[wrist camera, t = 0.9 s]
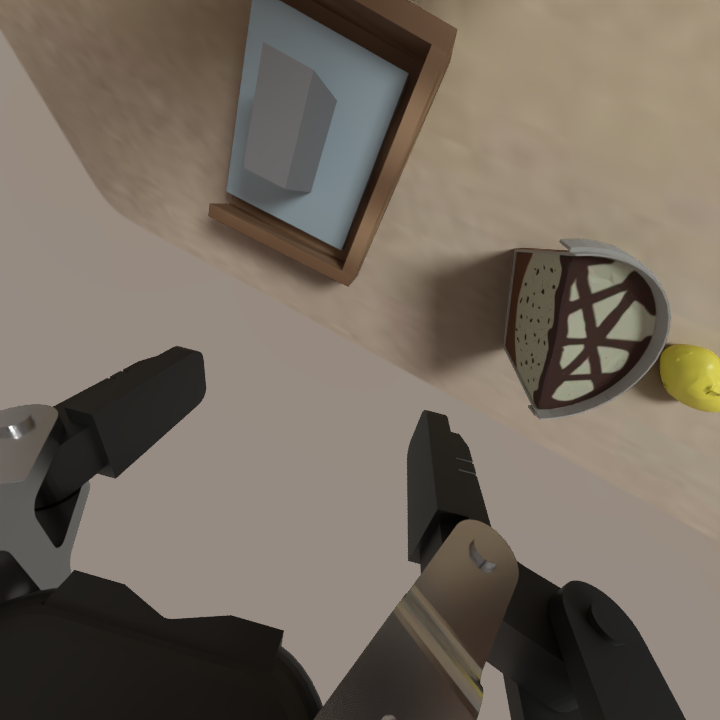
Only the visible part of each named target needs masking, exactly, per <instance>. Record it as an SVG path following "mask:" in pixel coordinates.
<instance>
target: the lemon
mask: <svg viewBox="0 0 720 720" xmlns="http://www.w3.org/2000/svg"><path fill="white" fill-rule="evenodd" d="M660 375H661V379H662V382H663V385H664V387H665V389H666V391H667V392H668V393H669V394H670V395H671V396H672V397H674V398H675V399H677V400H678V401H680V402H681V403H683V404H685V405H687V406H689V407H692V408H694V409H697V410H701V411H706V412H720V359H719V358H718V356H717V355H716V354H715V353H713V352H712V351H710V350H708V349H705V348H702V347H698V346H693V345H687V344H676V345H672V346H669V347H667V348H666V349H665V350H664V351H663V352H662V354H661V357H660Z"/></svg>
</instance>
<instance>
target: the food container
mask: <svg viewBox="0 0 720 720" xmlns="http://www.w3.org/2000/svg"><path fill="white" fill-rule="evenodd" d="M560 243H561V244H562V245H563V246H565V247H566V248H567V249H568V250H569V251H567V250H550V249H534V248H515V249H514V257H513V265H512V274H511V282H510V291H509V299H508V307H507V316H506V324H505V333H504V341H503V347H504V349H505V351H506V353H507V355H508V357H509V360H510V362H511V364H512V366H513V368H514V370H515V372H516V374H517V376H518V378H519V380H520V382H521V384H522V386H523V388H524V390H525V392H526V394H527V396H528V399H529V401H530V403H531V405H528V408H529V409H530V410H531V411H532V413H533V414H534V415H535V416H537V417H538V418H539V419H555V418H562V417H568V416H572V415H576V414H580V413H583V412H586V411H589V410H592V409H594V408H597V407H599V406H601V405H603V404H605V403H607V402H609V401H611V400H613V399H615V398H616V397H618V396H619V395H621V394H623V393H624V392H626V391H627V390H628V389H629V388H631V387H632V386H633V385H635V384H636V383H637V382H638V381H639V380H640V379H641V378H642V377H643V376H644V375H645V374H646V373H647V372H648V371H649V370H650V368H651V367H652V366H653V364H654V363H655V362H656V360H657V359H658V357H659V355H660V353H661V352H662V350H663V348H664V346H665V343H666V340H667V337H668V334H669V330H670V321H671V315H670V307H669V302H668V299H667V297H666V294H665V292H664V290H663V287H662V285H661V283H660V282H659V280H658V279H657V278H656V276H655V275H654V273H653V272H652V271H651V270H649V269H648V268H647V267H646V266H645V265H644V264H642V263H641V262H640V261H638V260H637V259H636V258H634V257H633V256H631V255H630V254H629V253H627V252H625V251H623V250H621V249H619V248H617V247H615V246H613V245H610V244H606V243H603V242H599V241H596V240H586V239H560Z"/></svg>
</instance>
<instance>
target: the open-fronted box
mask: <svg viewBox="0 0 720 720" xmlns="http://www.w3.org/2000/svg"><path fill="white" fill-rule="evenodd" d="M280 1H282V2H283V3H285V4H287V5H289V6H290V7H292V8H294V9H296V10H298V11H299V12H301V13H303V14H305V15H306V16H308V17H310V18H312V19H313V20H315V21H317V22H319V23H321V24H322V25H324V26H326V27H328V28H329V29H331V30H333V31H335V32H336V33H338V34H340V35H342V36H343V37H345V38H347V39H349V40H351V41H352V42H354V43H356V44H358V45H359V46H361V47H363V48H365V49H366V50H368V51H370V52H372V53H374V54H375V55H377V56H379V57H381V58H382V59H384V60H386V61H388V62H389V63H391V64H393V65H395V66H396V67H398V68H400V69H402V70H404V71H405V72H407V73H409V81H408V84H407V86H406V89H405V91H404V94H403V97H402V99H401V102H400V104H399V107H398V110H397V112H396V115H395V117H394V120H393V123H392V125H391V128H390V130H389V133H388V136H387V138H386V141H385V143H384V146H383V149H382V151H381V154H380V157H379V159H378V162H377V164H376V167H375V170H374V172H373V175H372V177H371V180H370V183H369V185H368V188H367V190H366V193H365V196H364V198H363V201H362V203H361V206H360V209H359V211H358V214H357V216H356V219H355V222H354V224H353V227H352V229H351V232H350V235H349V237H348V240H347V242H346V245H345V248H344V249H343V250H339V249H338V248H336V247H334V246H332V245H330V244H328V243H326V242H324V241H322V240H320V239H318V238H316V237H314V236H312V235H310V234H308V233H306V232H304V231H302V230H301V229H299V228H297V227H295V226H293V225H291V224H289V223H287V222H285V221H283V220H281V219H279V218H277V217H275V216H273V215H271V214H269V213H267V212H265V211H263V210H262V209H260V208H258V207H256V206H254V205H252V204H250V203H248V202H246V201H244V200H242V199H240V198H238V197H236V196H234V195H233V196H232V203H231V204H211V203H210V205H209V215H208V216H209V217H211V218H213V219H215V220H217V221H219V222H221V223H223V224H225V225H227V226H229V227H231V228H233V229H235V230H237V231H239V232H241V233H243V234H245V235H247V236H249V237H251V238H253V239H255V240H257V241H259V242H261V243H263V244H265V245H267V246H268V247H270V248H272V249H274V250H276V251H278V252H280V253H282V254H284V255H286V256H288V257H290V258H292V259H294V260H296V261H298V262H300V263H302V264H304V265H306V266H308V267H310V268H312V269H314V270H316V271H318V272H320V273H322V274H324V275H326V276H328V277H330V278H332V279H334V280H336V281H338V282H340V283H342V284H344V285H346V286H349V285H350V284H351V283H352V282H353V280H354V279H355V278H356V277H357V275H358V273H359V271H360V268H361V266H362V264H363V261H364V259H365V257H366V254H367V252H368V250H369V248H370V245H371V243H372V241H373V238H374V236H375V234H376V231H377V229H378V227H379V225H380V222H381V220H382V218H383V215H384V213H385V211H386V208H387V206H388V204H389V201H390V199H391V197H392V195H393V192H394V190H395V188H396V185H397V183H398V181H399V178H400V176H401V174H402V171H403V169H404V167H405V165H406V162H407V160H408V158H409V155H410V153H411V151H412V148H413V146H414V144H415V142H416V139H417V137H418V135H419V132H420V130H421V128H422V125H423V123H424V121H425V118H426V116H427V114H428V112H429V109H430V107H431V105H432V102H433V100H434V98H435V95H436V93H437V91H438V88H439V86H440V84H441V82H442V79H443V77H444V75H445V72H446V70H447V68H448V65H449V63H450V60H451V55H452V51H453V46H454V42H455V37H456V33H457V29H456V28H454V27H453V26H451V25H449V24H447V23H446V22H444V21H442V20H441V19H439V18H437V17H435V16H434V15H432V14H430V13H429V12H427V11H425V10H423V9H422V8H420V7H418V6H417V5H415V4H413V3H411V2H410V1H408V0H280Z"/></svg>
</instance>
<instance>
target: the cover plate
mask: <svg viewBox="0 0 720 720" xmlns="http://www.w3.org/2000/svg"><path fill="white" fill-rule="evenodd" d="M408 81H409V73H407V72H405V71H404V70H402V69H400V68H398V67H396V66H395V65H393V64H391V63H389V62H388V61H386V60H384V59H382V58H381V57H379V56H377V55H375V54H374V53H372V52H370V51H368V50H366V49H365V48H363V47H361V46H359V45H358V44H356V43H354V42H352V41H351V40H349V39H347V38H345V37H343V36H342V35H340V34H338V33H336V32H335V31H333V30H331V29H329V28H328V27H326V26H324V25H322V24H321V23H319V22H317V21H315V20H313V19H312V18H310V17H308V16H306V15H305V14H303V13H301V12H299V11H298V10H296V9H294V8H292V7H290V6H289V5H287V4H285V3H283V2H282V1H280V0H252V4H251V12H250V19H249V27H248V34H247V41H246V49H245V56H244V64H243V71H242V79H241V86H240V93H239V101H238V108H237V116H236V123H235V131H234V138H233V145H232V153H231V160H230V168H229V175H228V183H227V190H226V192H228V193H230V194H232V195H234V196H236V197H238V198H240V199H242V200H244V201H246V202H248V203H250V204H252V205H254V206H256V207H258V208H260V209H262V210H263V211H265V212H267V213H269V214H271V215H273V216H275V217H277V218H279V219H281V220H283V221H285V222H287V223H289V224H291V225H293V226H295V227H297V228H299V229H301V230H302V231H304V232H306V233H308V234H310V235H312V236H314V237H316V238H318V239H320V240H322V241H324V242H326V243H328V244H330V245H332V246H334V247H336V248H338V249H339V250H343V249H344V248H345V245H346V242H347V240H348V237H349V235H350V232H351V229H352V227H353V224H354V222H355V219H356V216H357V214H358V211H359V209H360V206H361V203H362V201H363V198H364V196H365V193H366V190H367V188H368V185H369V183H370V180H371V177H372V175H373V172H374V170H375V167H376V164H377V162H378V159H379V157H380V154H381V151H382V149H383V146H384V143H385V141H386V138H387V136H388V133H389V130H390V128H391V125H392V123H393V120H394V117H395V115H396V112H397V110H398V107H399V104H400V102H401V99H402V97H403V94H404V91H405V89H406V86H407V84H408Z"/></svg>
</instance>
